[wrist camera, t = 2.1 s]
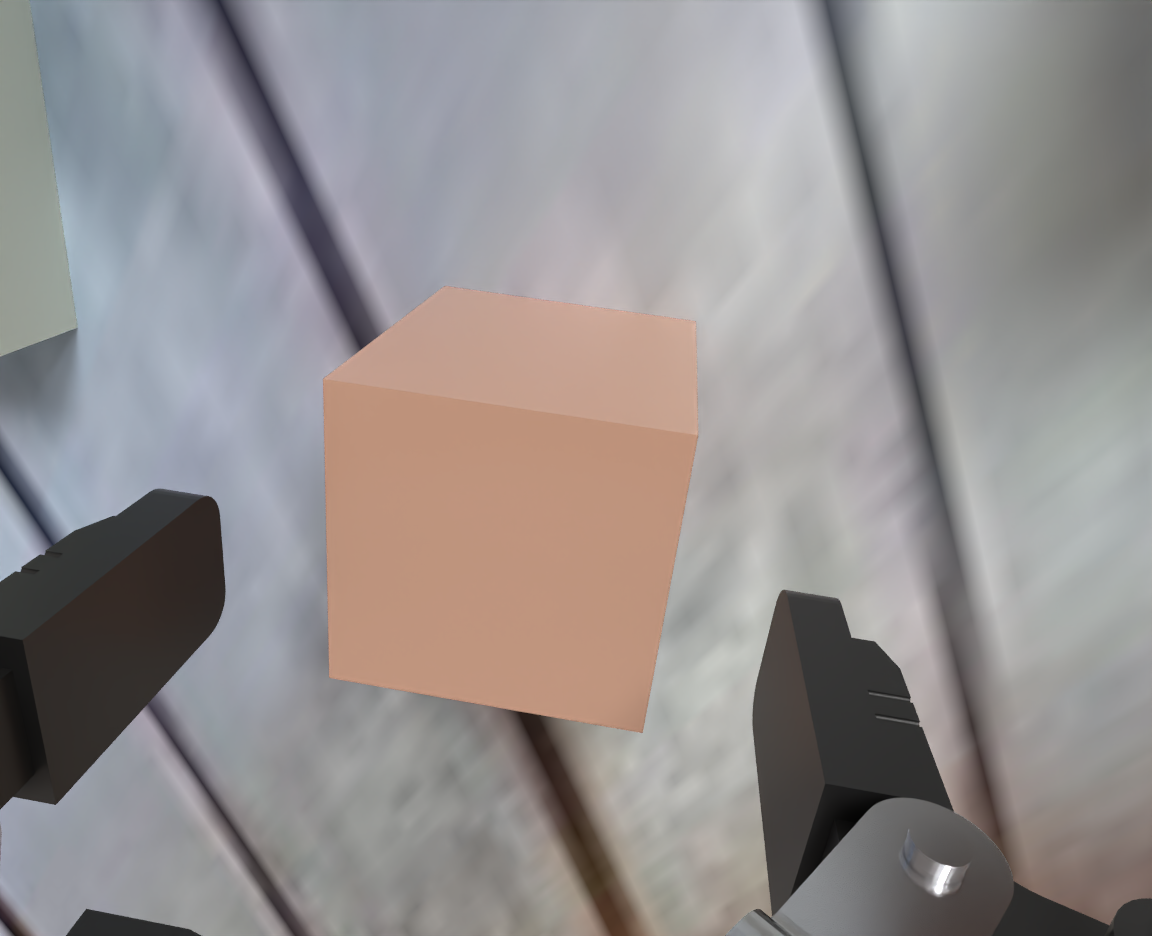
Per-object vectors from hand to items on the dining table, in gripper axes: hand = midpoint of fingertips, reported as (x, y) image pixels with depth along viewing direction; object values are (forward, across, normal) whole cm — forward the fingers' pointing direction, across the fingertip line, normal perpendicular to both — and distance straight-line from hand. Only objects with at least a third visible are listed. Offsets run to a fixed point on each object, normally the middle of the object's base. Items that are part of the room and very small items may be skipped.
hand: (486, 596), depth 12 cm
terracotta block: (+6, 0, 0) cm, 6 cm away
